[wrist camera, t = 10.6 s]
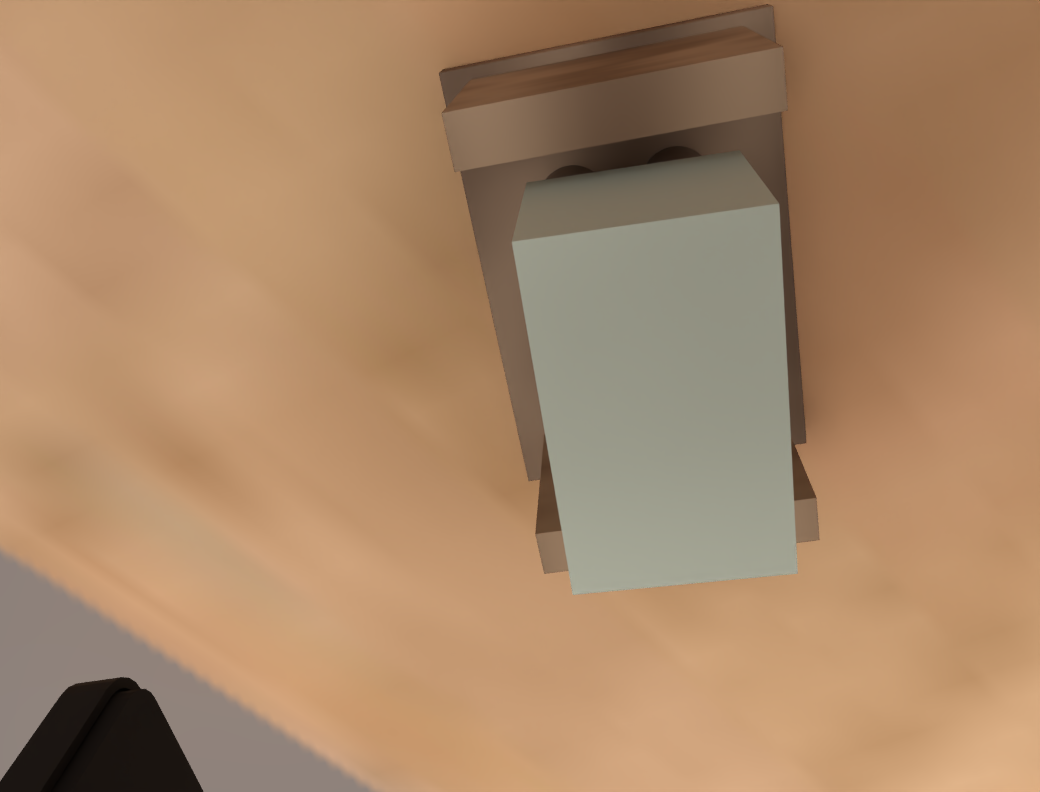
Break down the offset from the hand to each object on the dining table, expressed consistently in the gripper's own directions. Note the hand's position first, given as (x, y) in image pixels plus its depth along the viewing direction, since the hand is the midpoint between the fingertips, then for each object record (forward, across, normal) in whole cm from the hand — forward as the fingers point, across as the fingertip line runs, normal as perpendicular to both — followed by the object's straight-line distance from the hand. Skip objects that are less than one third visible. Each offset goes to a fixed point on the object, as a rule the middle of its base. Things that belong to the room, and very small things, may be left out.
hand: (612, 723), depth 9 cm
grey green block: (+20, -1, +4) cm, 20 cm away
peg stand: (+27, 0, +4) cm, 27 cm away
